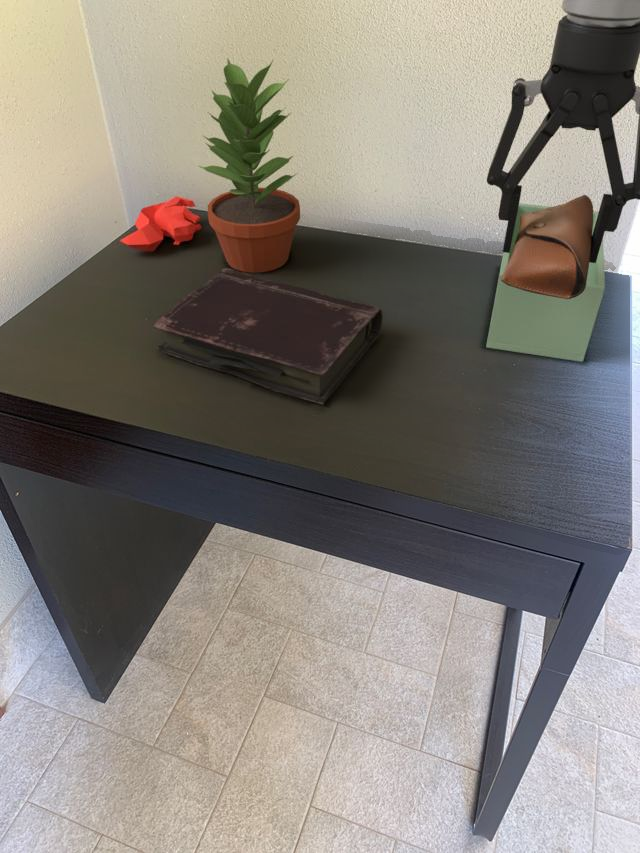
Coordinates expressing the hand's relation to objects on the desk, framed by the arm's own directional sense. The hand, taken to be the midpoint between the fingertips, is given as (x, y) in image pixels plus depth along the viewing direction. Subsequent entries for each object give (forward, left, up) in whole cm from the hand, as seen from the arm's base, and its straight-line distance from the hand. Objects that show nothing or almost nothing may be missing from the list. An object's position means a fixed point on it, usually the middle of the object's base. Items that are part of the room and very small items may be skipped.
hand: (548, 251), depth 75 cm
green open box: (+9, -15, -18) cm, 25 cm away
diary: (+27, +20, -18) cm, 38 cm away
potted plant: (+49, +7, -18) cm, 52 cm away
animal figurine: (+64, +15, -18) cm, 68 cm away
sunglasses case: (0, 0, -1) cm, 1 cm away
